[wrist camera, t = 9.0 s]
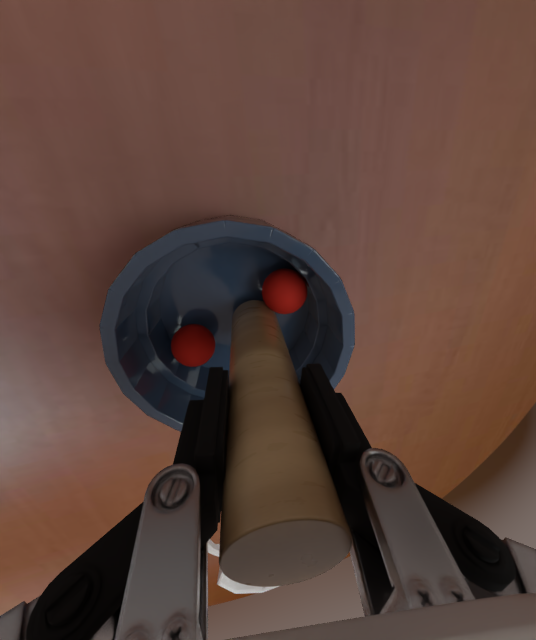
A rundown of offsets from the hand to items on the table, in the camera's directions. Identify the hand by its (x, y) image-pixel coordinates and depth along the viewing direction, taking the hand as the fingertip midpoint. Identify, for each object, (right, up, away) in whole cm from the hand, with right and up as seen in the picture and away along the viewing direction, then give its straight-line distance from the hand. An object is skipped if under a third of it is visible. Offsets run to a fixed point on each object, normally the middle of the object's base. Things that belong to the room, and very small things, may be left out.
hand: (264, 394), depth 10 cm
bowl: (-2, +4, +8) cm, 9 cm away
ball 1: (-5, +1, +7) cm, 8 cm away
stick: (-1, +3, +7) cm, 8 cm away
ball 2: (+1, +5, +6) cm, 8 cm away
